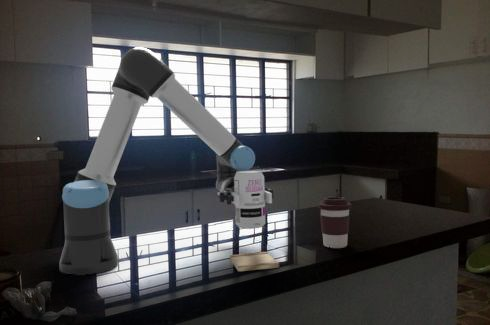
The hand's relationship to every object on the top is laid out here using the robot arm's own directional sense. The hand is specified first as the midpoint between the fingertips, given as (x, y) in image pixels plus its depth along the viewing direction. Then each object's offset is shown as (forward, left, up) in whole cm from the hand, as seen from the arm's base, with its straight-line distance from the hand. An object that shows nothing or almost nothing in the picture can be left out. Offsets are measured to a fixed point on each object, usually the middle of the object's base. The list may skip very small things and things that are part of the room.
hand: (254, 199), depth 109 cm
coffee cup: (+29, +14, -18) cm, 37 cm away
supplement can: (0, +5, -8) cm, 9 cm away
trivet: (0, +4, -18) cm, 19 cm away
